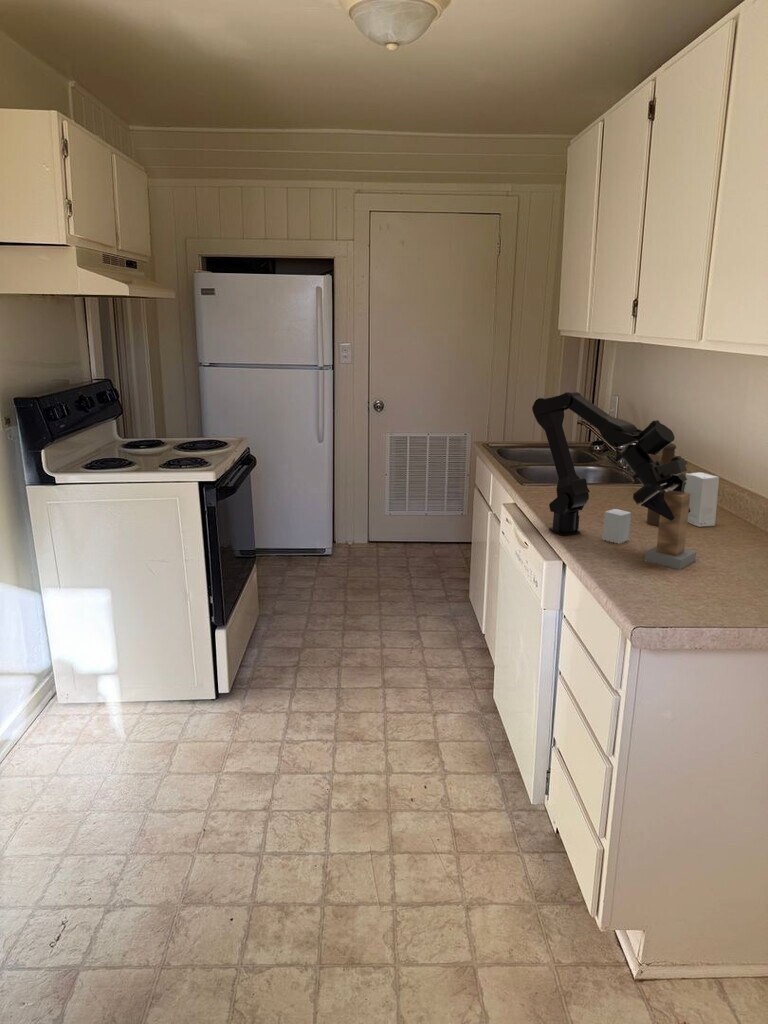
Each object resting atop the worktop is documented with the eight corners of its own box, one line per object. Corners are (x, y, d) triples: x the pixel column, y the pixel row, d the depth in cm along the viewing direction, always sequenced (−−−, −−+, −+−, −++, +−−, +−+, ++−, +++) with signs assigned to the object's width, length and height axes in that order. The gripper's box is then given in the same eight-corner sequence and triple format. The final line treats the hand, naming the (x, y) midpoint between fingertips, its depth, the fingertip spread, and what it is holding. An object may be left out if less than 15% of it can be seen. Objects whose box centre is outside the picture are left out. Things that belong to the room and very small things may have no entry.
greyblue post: (618, 544, 191) (621, 515, 189) (602, 539, 195) (604, 511, 193) (628, 540, 194) (631, 512, 192) (612, 536, 198) (615, 508, 196)
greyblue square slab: (644, 562, 178) (645, 551, 177) (660, 554, 184) (661, 543, 184) (679, 571, 172) (680, 560, 171) (694, 563, 178) (696, 552, 177)
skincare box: (715, 526, 208) (721, 477, 204) (696, 527, 207) (703, 478, 203) (697, 518, 216) (703, 471, 212) (679, 519, 215) (685, 471, 211)
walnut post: (656, 551, 177) (662, 493, 174) (664, 547, 181) (670, 490, 177) (676, 555, 174) (682, 496, 170) (684, 551, 177) (690, 493, 174)
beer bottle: (640, 521, 212) (649, 442, 206) (661, 519, 215) (670, 441, 209) (659, 528, 205) (668, 447, 199) (680, 525, 208) (690, 445, 202)
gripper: (650, 450, 167) (691, 504, 162) (683, 441, 179) (722, 491, 175) (616, 478, 174) (654, 530, 170) (650, 467, 187) (686, 515, 182)
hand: (681, 516), depth 174 cm, fingers open, 9 cm apart
